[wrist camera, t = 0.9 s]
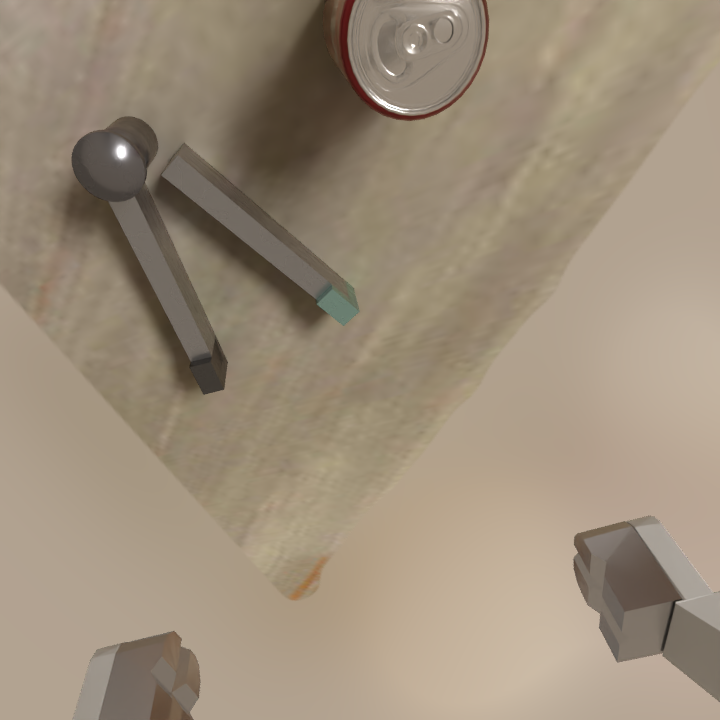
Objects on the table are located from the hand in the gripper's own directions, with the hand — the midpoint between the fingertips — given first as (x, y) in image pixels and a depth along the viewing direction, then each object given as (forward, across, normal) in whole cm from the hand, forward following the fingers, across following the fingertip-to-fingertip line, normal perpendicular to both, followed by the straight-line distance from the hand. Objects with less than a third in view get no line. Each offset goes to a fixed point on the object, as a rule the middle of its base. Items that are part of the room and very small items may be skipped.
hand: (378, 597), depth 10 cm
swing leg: (+34, +4, +4) cm, 35 cm away
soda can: (+34, -7, -8) cm, 36 cm away
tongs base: (+34, +11, +4) cm, 36 cm away
